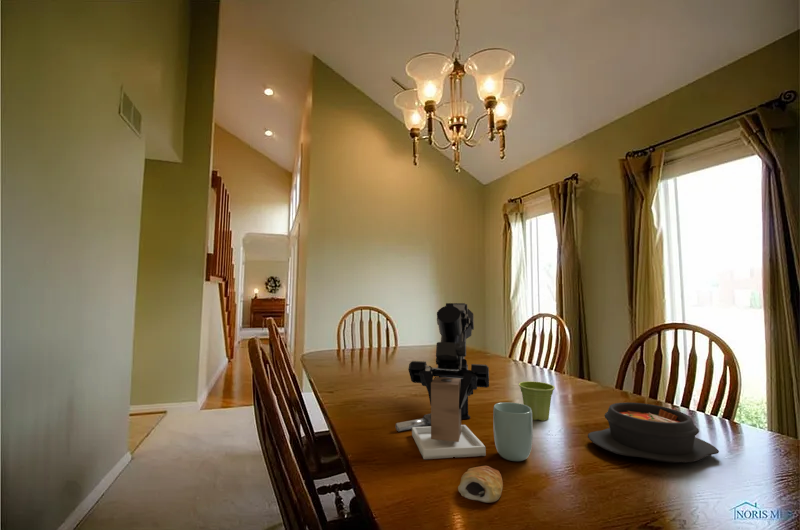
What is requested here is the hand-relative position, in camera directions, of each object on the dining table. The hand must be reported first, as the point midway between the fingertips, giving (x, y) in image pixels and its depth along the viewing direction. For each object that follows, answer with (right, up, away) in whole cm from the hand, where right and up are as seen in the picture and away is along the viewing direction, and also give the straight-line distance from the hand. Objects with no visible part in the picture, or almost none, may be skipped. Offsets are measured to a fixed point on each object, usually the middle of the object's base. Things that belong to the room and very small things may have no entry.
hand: (445, 406), depth 81 cm
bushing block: (0, -7, +1) cm, 7 cm away
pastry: (+4, -7, -19) cm, 20 cm away
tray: (0, -9, +1) cm, 9 cm away
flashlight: (-6, -9, +11) cm, 16 cm away
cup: (+13, -8, -6) cm, 17 cm away
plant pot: (+28, -11, +20) cm, 36 cm away
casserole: (+44, -9, -2) cm, 45 cm away
